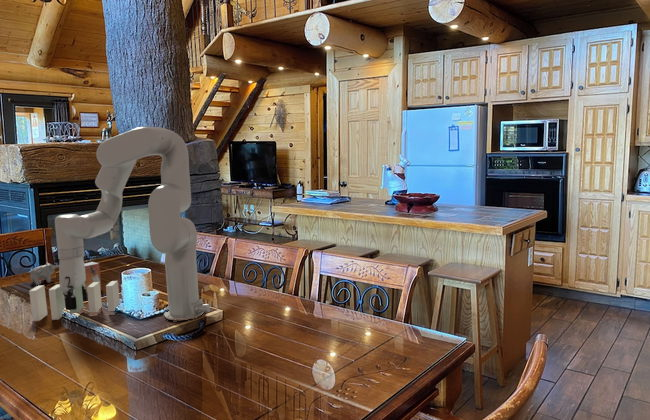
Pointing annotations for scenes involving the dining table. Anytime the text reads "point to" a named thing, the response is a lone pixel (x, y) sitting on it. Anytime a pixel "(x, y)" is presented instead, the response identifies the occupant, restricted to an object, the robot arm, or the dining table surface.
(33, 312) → the domino
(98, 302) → the domino
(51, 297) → the domino
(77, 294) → the domino
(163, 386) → the dining table surface
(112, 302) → the domino
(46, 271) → the elephant statuette
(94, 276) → the small box
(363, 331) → the dining table surface
